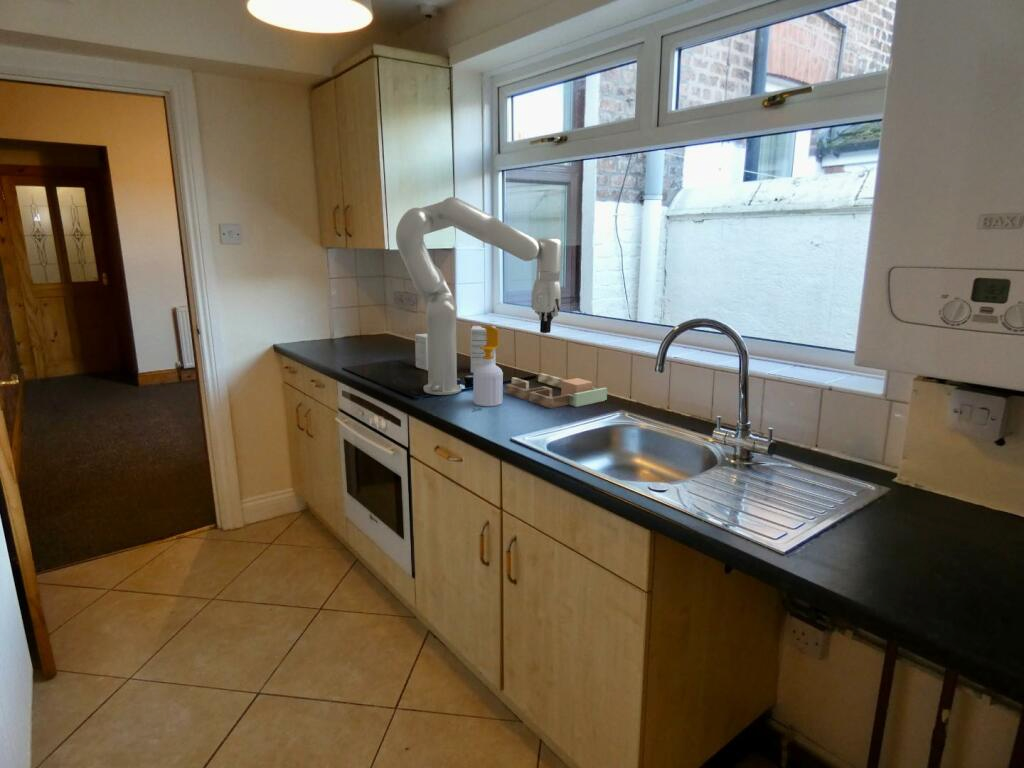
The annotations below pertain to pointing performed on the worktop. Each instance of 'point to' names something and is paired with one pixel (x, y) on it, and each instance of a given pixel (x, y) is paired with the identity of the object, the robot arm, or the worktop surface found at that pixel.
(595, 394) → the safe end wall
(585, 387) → the block
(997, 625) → the worktop surface
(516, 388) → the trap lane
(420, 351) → the small box
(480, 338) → the supplement box
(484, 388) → the soap bottle
